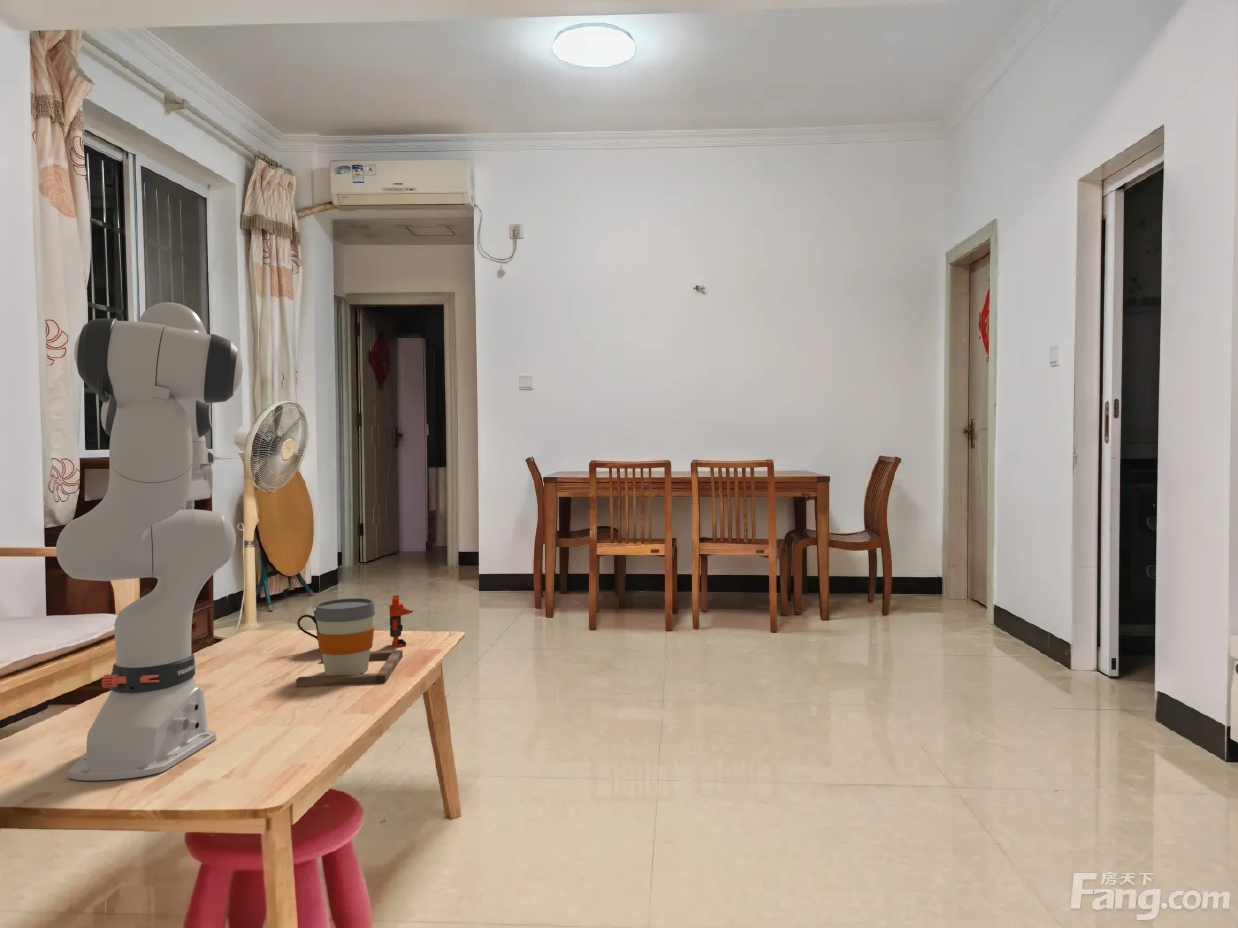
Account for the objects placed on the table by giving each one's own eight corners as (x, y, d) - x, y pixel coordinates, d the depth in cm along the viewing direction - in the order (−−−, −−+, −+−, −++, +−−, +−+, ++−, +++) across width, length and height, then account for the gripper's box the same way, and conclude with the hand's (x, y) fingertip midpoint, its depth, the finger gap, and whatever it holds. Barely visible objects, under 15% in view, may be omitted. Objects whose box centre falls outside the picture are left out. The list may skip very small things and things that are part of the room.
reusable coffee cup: (387, 670, 177) (385, 602, 177) (332, 683, 168) (330, 611, 168) (359, 660, 186) (358, 595, 185) (306, 671, 177) (304, 604, 177)
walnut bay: (385, 682, 168) (385, 675, 168) (296, 686, 166) (295, 679, 166) (402, 656, 188) (402, 650, 188) (323, 659, 187) (323, 653, 187)
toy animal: (413, 647, 196) (411, 598, 196) (390, 649, 195) (388, 600, 195) (413, 640, 204) (412, 593, 204) (391, 641, 203) (390, 594, 203)
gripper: (175, 456, 155) (177, 528, 155) (217, 455, 175) (219, 518, 176) (140, 457, 154) (143, 529, 155) (187, 456, 175) (189, 519, 175)
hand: (184, 523), depth 165 cm, fingers closed
